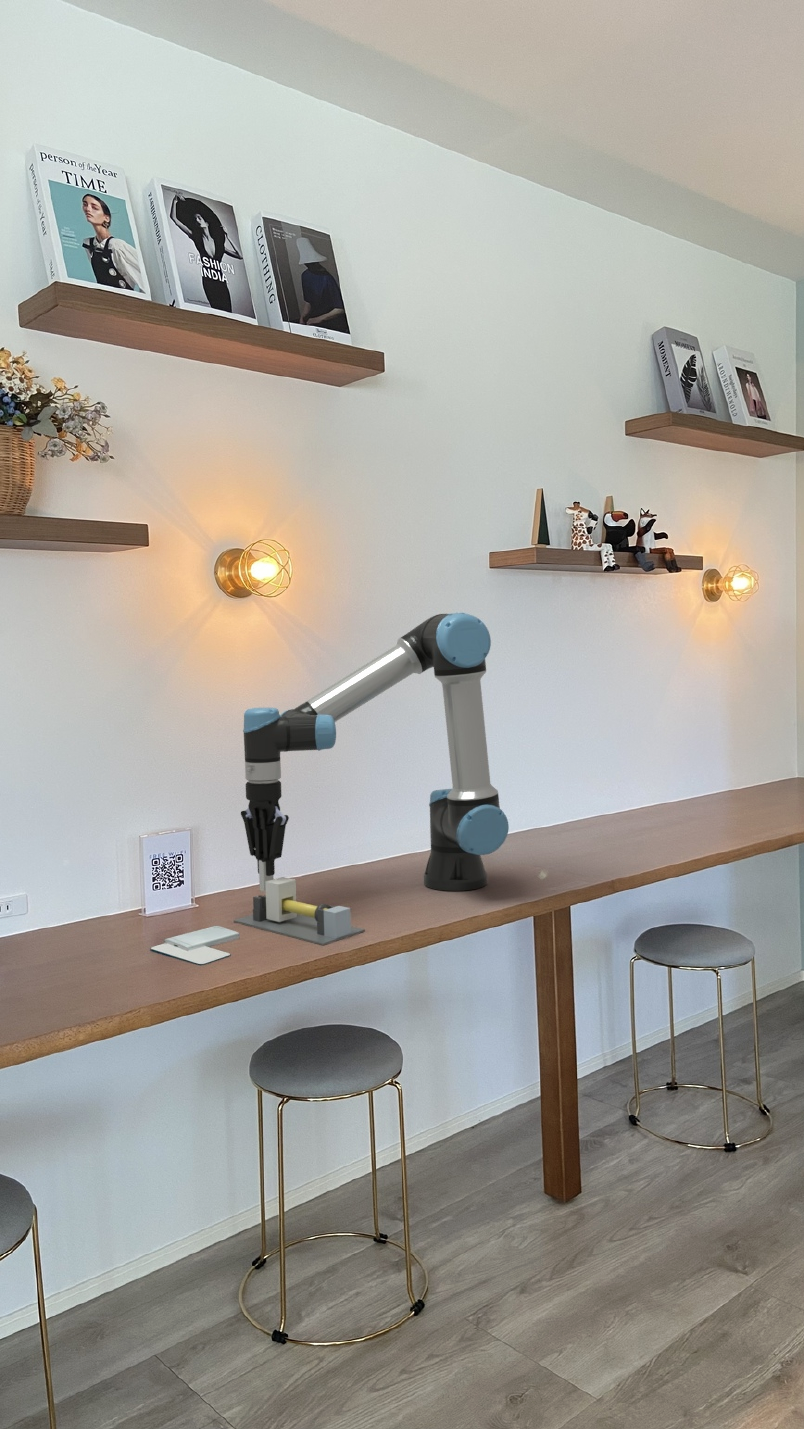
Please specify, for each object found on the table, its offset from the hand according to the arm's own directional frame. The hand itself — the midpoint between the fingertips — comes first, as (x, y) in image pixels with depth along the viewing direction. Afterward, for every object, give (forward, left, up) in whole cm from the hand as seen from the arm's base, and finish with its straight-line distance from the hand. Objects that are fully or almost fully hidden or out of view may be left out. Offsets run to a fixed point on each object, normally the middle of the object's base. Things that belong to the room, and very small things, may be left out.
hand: (266, 889), depth 227 cm
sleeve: (0, +5, -5) cm, 7 cm away
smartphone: (+25, +6, -7) cm, 27 cm away
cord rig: (0, +9, -6) cm, 11 cm away
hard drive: (+19, +2, -7) cm, 20 cm away
